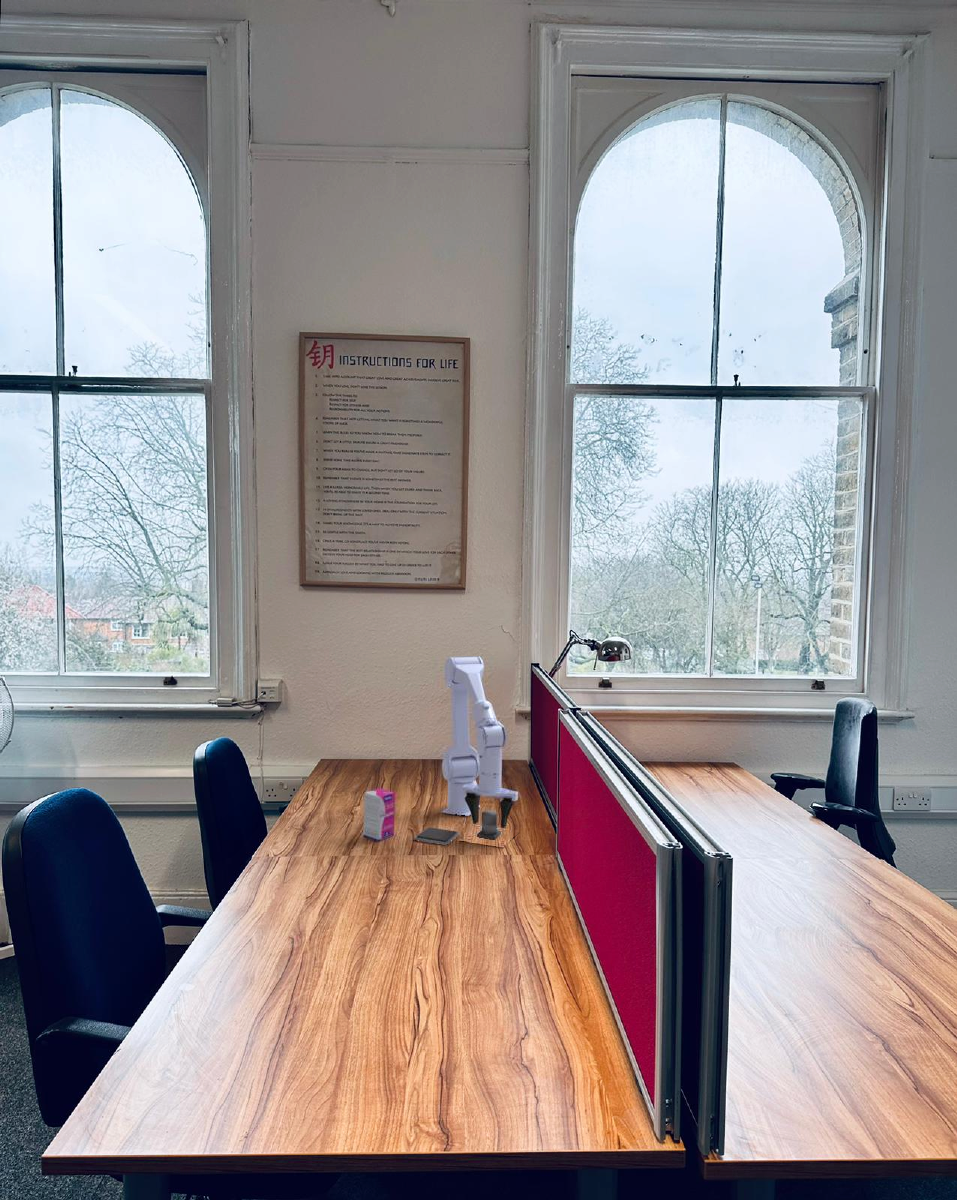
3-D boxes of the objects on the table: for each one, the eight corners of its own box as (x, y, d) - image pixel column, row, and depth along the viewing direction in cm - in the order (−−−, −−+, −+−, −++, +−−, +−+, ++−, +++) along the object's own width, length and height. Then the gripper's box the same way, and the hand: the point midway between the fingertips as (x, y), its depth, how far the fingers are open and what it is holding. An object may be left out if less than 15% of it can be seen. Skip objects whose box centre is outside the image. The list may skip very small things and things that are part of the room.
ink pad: (427, 830, 196) (427, 826, 196) (459, 835, 193) (459, 831, 193) (414, 840, 189) (414, 836, 188) (446, 845, 185) (446, 841, 185)
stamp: (483, 831, 195) (483, 808, 194) (501, 834, 193) (501, 811, 193) (476, 838, 190) (476, 814, 190) (495, 840, 188) (495, 817, 188)
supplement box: (379, 842, 187) (379, 796, 187) (362, 836, 191) (362, 792, 190) (395, 835, 192) (395, 791, 191) (378, 830, 195) (379, 787, 195)
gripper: (458, 772, 190) (457, 825, 191) (511, 779, 185) (511, 833, 185) (468, 766, 197) (468, 817, 197) (521, 772, 191) (520, 825, 192)
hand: (489, 824), depth 192 cm, fingers open, 7 cm apart
